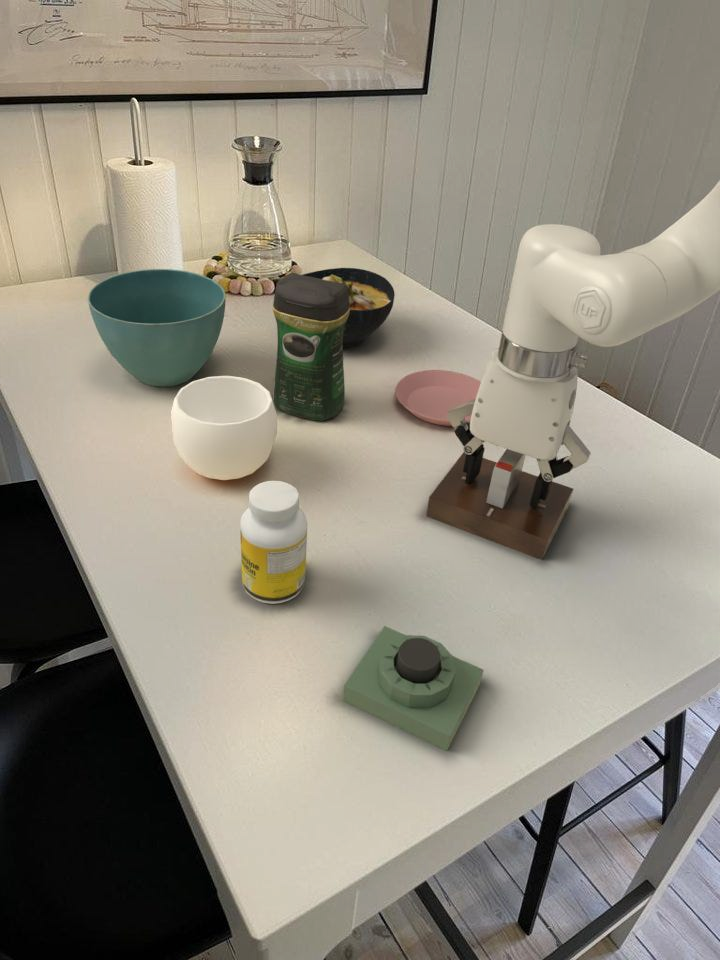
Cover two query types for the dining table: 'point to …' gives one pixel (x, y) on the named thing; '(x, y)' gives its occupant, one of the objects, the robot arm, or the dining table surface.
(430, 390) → the plate
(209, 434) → the cup
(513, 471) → the red-tipped white block
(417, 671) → the button
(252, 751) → the dining table surface
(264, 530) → the pill bottle
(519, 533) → the brown dial block
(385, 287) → the bowl
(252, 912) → the dining table surface
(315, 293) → the coffee jar
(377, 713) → the switch block
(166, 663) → the dining table surface
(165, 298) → the teal mixing bowl
